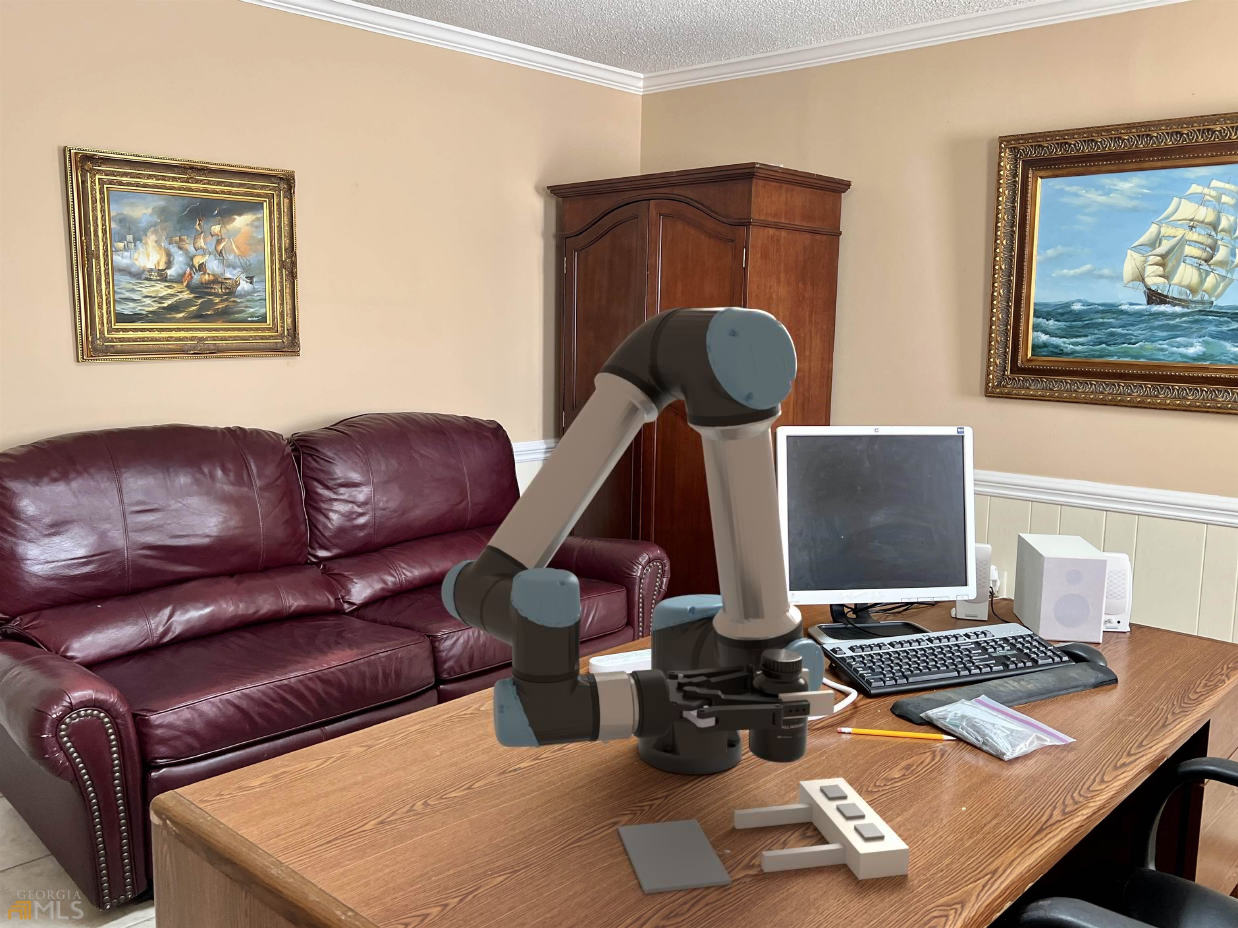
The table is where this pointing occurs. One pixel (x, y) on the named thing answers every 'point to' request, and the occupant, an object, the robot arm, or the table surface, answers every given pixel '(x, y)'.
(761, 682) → the supplement bottle
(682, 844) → the rubber mat
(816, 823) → the power strip dock
